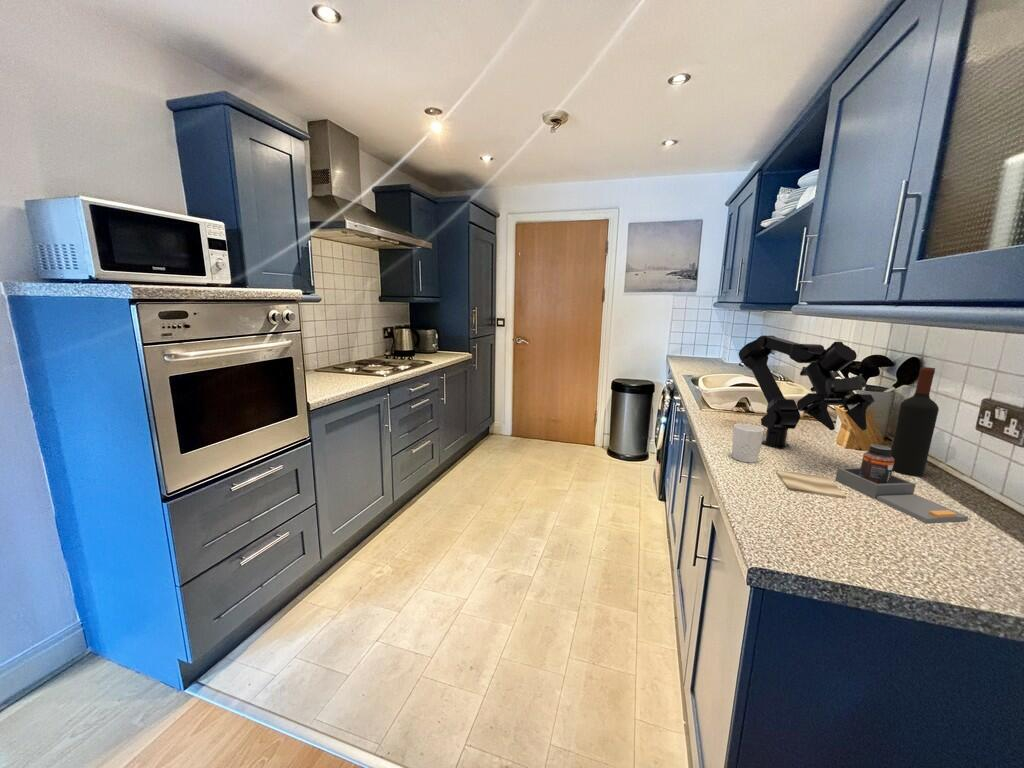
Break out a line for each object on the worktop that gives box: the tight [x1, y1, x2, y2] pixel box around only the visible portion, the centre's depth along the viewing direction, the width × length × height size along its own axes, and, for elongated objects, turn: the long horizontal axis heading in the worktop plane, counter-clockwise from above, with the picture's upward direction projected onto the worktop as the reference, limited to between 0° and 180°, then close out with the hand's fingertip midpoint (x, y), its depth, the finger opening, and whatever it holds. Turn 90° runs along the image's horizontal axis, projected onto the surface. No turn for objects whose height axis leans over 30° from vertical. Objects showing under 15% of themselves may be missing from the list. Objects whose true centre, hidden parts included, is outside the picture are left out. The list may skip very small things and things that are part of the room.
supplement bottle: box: [859, 443, 894, 484], centre depth 103 cm, size 6×6×11 cm
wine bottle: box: [890, 366, 940, 477], centre depth 113 cm, size 8×8×30 cm
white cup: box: [731, 423, 765, 464], centre depth 121 cm, size 8×8×10 cm
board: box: [775, 469, 847, 499], centre depth 105 cm, size 12×12×1 cm
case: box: [835, 466, 969, 524], centre depth 98 cm, size 22×11×4 cm, turn 7°
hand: (848, 429), depth 109 cm, fingers open, 9 cm apart
